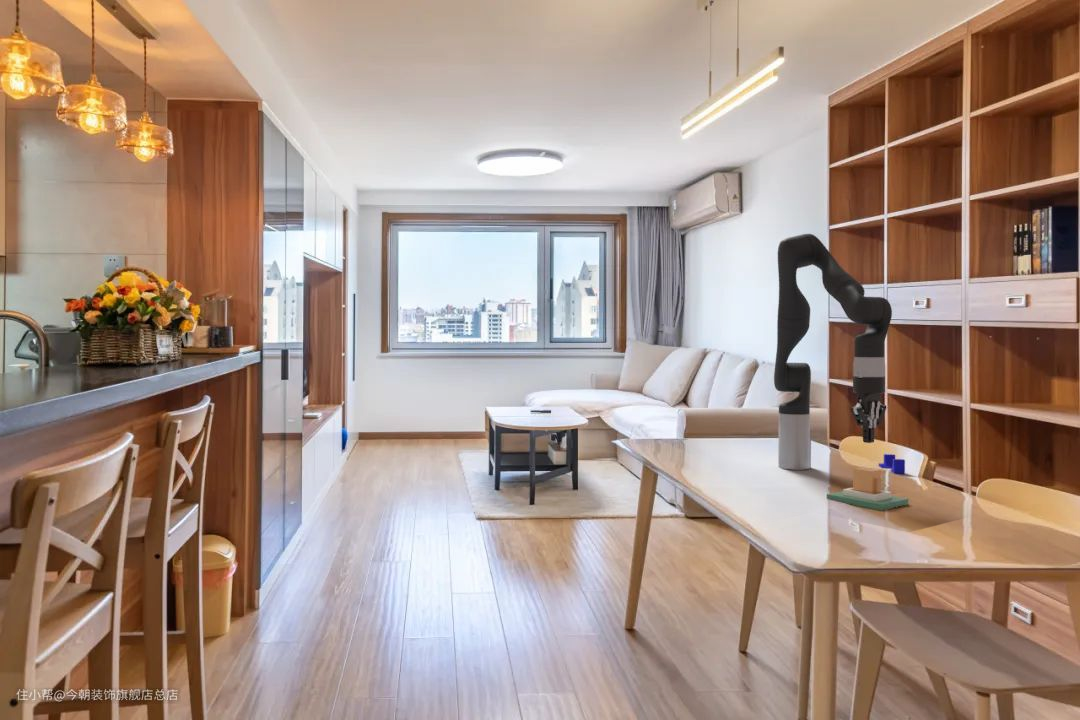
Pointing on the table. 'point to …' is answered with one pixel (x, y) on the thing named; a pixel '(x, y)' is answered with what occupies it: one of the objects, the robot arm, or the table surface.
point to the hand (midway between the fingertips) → (868, 442)
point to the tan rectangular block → (867, 480)
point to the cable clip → (893, 464)
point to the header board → (868, 499)
